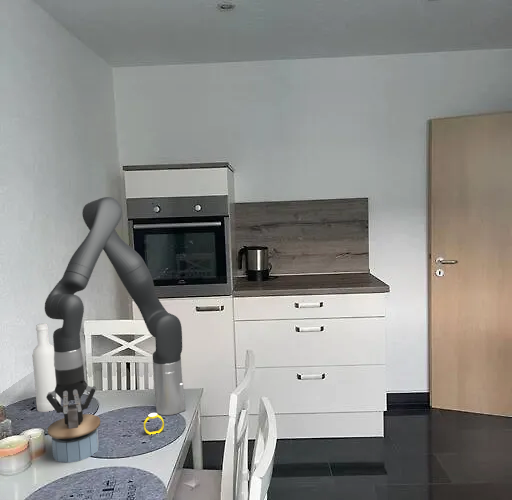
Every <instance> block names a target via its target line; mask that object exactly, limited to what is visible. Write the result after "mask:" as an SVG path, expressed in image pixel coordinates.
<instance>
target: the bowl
mask: <svg viewBox="0 0 512 500" xmlns="http://www.w3.org/2000/svg"><path fill="white" fill-rule="evenodd" d="M98 431H99V430H98V428H97V429H96V430H94V431H93V432H91V433H88V434H86V435H83V436H80V437H76V438H69V439H57V438H53V437H51V447H52V458H53V460H55V461H56V462H58V463H67V464H68V463H73V462H79V461H83V460H85V459H88V458H90V457H92V456H93V455H95V454H94V453H97V452H98V451H99V447H100V445H99V444H100V443H99V442H100V441H99V434H98V433H99V432H98Z"/></svg>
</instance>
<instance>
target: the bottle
mask: <svg viewBox="0 0 512 500" xmlns="http://www.w3.org/2000/svg"><path fill="white" fill-rule="evenodd" d="M35 330H36V339H37V345H36V346H35V347H34V349H33V352H32V358H31V359H32V366H33V367H32V368H33V377H34V378H33V379H34V389H35V398H36V399H35V401H36V402H35V404H36V410H37V412H39V413H49V411H50V412H53V410H54V411H56V410H55V409H54V408H53V406H52V405H51V404H50V402H49V401H48V400H47V398H46V397H47V394H48V393H49V392H52V391H54V390H55V387H56V376H55V367H54V344H52V343H50V340H49V339H50V338H49V326H48V323H45V322H44V323H38V324H37V325H36V328H35ZM56 399H57V400H58V402H59V403H60V405H61V406H62V399H61V398H60V396H59V395H58V394H57V393H56Z"/></svg>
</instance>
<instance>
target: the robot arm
mask: <svg viewBox="0 0 512 500" xmlns="http://www.w3.org/2000/svg"><path fill="white" fill-rule="evenodd" d="M81 215H82V218H83V222H84V224H85V225H86V227H87V229H88V230H89V232H88V234H87V235H86V236H85V238H84V240H83V241H82V242H81V244H80V245H79V246H78V247H77V249H76V250H75V251H74V253H73V255H72V256H71V258H70V259H69V261H68V264H67V266H66V267H65V268H66V269H65V271H64V273H63V275H62V277H61V278H60V280H59V281H58V282H57V283H56V285H54V287H53V289H52V290H51V291H50V292H49V294H48V296H47V298H46V299H45V303H44V313H45V315H46V316H47V317H48V318H49V319H53V320H61V321H62V320H63V321H62V327H59V328H57V329H55V330H54V331H53V333H52V334H53V335H52V339H53V340H52V341H53V346H54V367H55V376H56V387H55V390H54V391H52V392H49V393H48V394H47V397H46V398H47V400H48V401H49V402H50V404H51V405H52V406H53V408H54V409H55V410H54V411H55V412H57V413H58V414H61V413H62V414H63V418H64V419H65V424H67V426H69V425H68V413H67V411H68V408H69V405H70V402H71V401H74V404H76V407H77V411H78V412H77V413H78V425H80V424H81V422H82V421H83V414H84V413H83V411H84V410H87V409H89V406H90V404H91V402H92V400H93V397H94V395H95V393H96V389H97V388H96V386H95V385H94V386H90V385H88V384H87V382H86V379H85V370H84V367H85V366H84V358H83V357H84V356H83V350H82V344H81V343H82V342H81V328H82V323H83V317H84V314H85V312H84V311H85V306H84V302H83V299H81V297H80V296H78V295H76V294H75V293H78V292H81V291H83V290H85V289H86V287H87V286H88V283H89V282H90V279H91V276H92V274H93V271H94V269H95V266H96V264H97V263H98V260H99V258H100V256H101V254H102V253H103V251H104V253H105V255H106V257H107V258H108V260H109V262H110V263H111V265H112V266H113V268H114V271H115V272H116V274H117V276H118V278H119V279H120V281H121V283H122V285H123V286H124V288H125V290H126V291H127V293H128V294H129V295H130V297H131V299H132V300H133V302H134V304H135V305H136V306H137V308H138V310H139V312H140V314H141V317H142V319H143V321H144V323H145V326H146V328H147V330H148V332H149V334H150V335H151V336H152V337H154V338H155V350H154V352H153V353H152V364H153V378H154V393H155V395H154V397H155V409H156V413H157V414H158V415H160V416H172V415H173V416H174V415H176V414H179V413H181V412H186V410H185V409H186V406H185V405H186V404H185V392H184V391H185V390H184V381H183V372H182V369H183V367H182V359H181V358H182V357H181V355H182V352H183V331H182V330H183V329H182V323H181V321H180V319H179V318H178V316H176V315H174V314H172V313H170V312H168V311H167V310H166V309H165V307H164V306H163V304H162V302H161V301H160V299H159V298H158V296H157V292H156V290H155V283H154V279H153V277H152V274H151V272H150V269H149V268H148V266H147V264H146V263H145V261H144V259H143V257H142V256H141V255H140V253H138V252H137V251H136V250H135V249H134V248H133V247H132V246H130V245H129V244H127V243H126V242H125V240H123V239H122V238H121V237H120V235H119V234H118V233H117V231H116V228H117V226H118V225H119V223H120V221H121V219H122V217H123V208H122V205H121V203H120V202H119V201H118V199H115V198H114V197H112V196H106V197H101V198H98V199H96V200H92V201H90V202H88V203H86V204H85V205H84V206H83V209H82V214H81ZM85 391H86V394H87V397H86V399H85V401H84V403H82V396H83V394H84V393H85ZM56 393H57V394H58V395H59V396H60V398H61V401H62V404H63V405H62V404H61V405H60V403H59V402H58V400H57V399H56Z"/></svg>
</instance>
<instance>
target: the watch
mask: <svg viewBox="0 0 512 500" xmlns="http://www.w3.org/2000/svg"><path fill="white" fill-rule="evenodd" d="M157 418H159V419H160V420H161V422H162V424H161V428H159V429H158V430H156V431H149V430H148V429H147V428H146V423H148V421H149V420H152V419H153V420H154V419H157ZM164 427H165V422H164V418H163V417H162V415H160V414H158V413H157V412H151V413H149V414H148V416H147V417H146V418H145V420H144V421H143V430H144V432H145V433H146V434H147V435H149V436H151V434H152V435H156V433H158V434H160V433H162V432H163V430H164Z"/></svg>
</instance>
